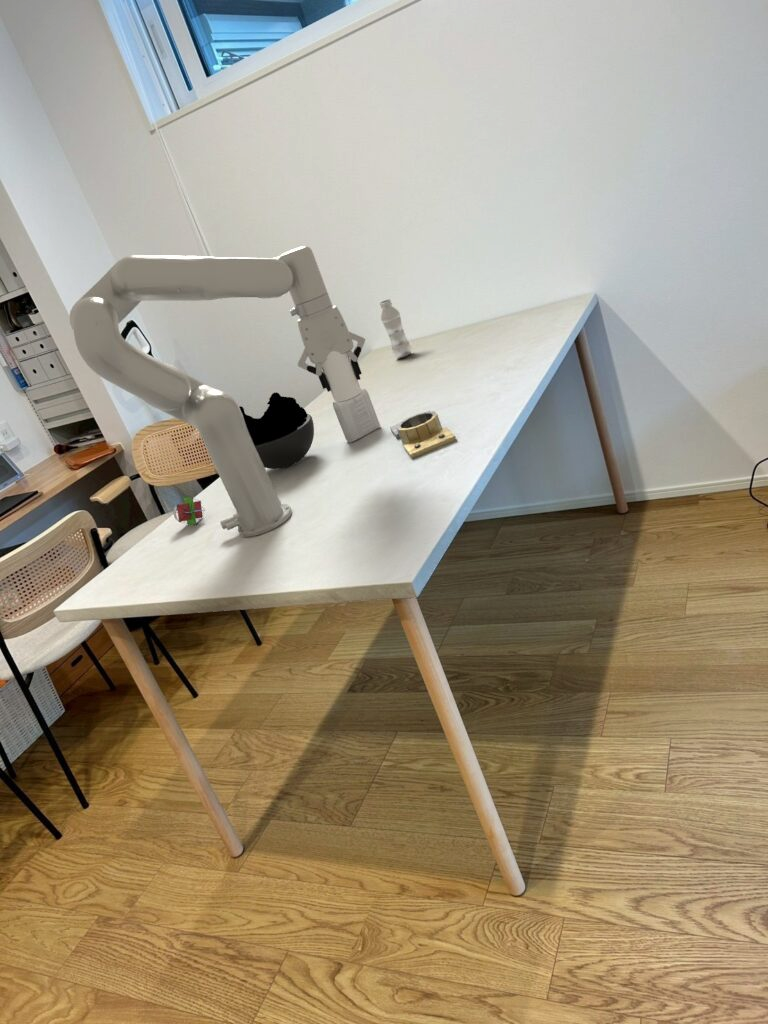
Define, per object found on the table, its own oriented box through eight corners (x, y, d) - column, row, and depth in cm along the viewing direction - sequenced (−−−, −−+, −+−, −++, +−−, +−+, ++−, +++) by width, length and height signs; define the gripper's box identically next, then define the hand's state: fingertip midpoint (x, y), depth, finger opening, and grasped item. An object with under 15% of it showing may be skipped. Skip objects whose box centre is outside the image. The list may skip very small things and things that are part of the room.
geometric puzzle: (200, 503, 197) (174, 491, 192) (215, 503, 192) (189, 490, 187) (190, 530, 195) (163, 518, 190) (206, 531, 190) (179, 519, 185)
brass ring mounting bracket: (411, 459, 177) (405, 443, 176) (391, 431, 201) (386, 417, 200) (456, 440, 177) (451, 424, 176) (431, 414, 201) (426, 400, 200)
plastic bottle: (392, 360, 274) (372, 305, 267) (408, 352, 276) (389, 297, 268) (400, 361, 268) (379, 305, 261) (416, 353, 270) (397, 297, 263)
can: (329, 405, 175) (310, 354, 171) (343, 394, 180) (325, 344, 176) (353, 400, 172) (333, 348, 167) (366, 389, 176) (348, 338, 172)
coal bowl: (340, 444, 207) (313, 378, 200) (293, 480, 194) (263, 411, 187) (287, 450, 220) (260, 388, 213) (240, 485, 206) (209, 420, 199)
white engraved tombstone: (375, 425, 211) (358, 382, 207) (383, 426, 208) (367, 383, 203) (344, 442, 207) (327, 399, 203) (352, 443, 204) (334, 400, 199)
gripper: (277, 323, 164) (308, 402, 171) (354, 293, 165) (382, 373, 171) (275, 319, 171) (306, 395, 178) (349, 290, 172) (377, 367, 178)
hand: (343, 383), depth 175 cm, fingers closed on can, 6 cm apart
